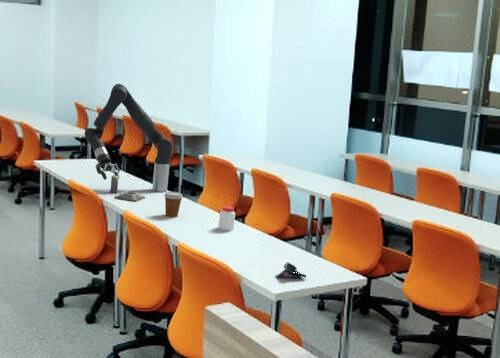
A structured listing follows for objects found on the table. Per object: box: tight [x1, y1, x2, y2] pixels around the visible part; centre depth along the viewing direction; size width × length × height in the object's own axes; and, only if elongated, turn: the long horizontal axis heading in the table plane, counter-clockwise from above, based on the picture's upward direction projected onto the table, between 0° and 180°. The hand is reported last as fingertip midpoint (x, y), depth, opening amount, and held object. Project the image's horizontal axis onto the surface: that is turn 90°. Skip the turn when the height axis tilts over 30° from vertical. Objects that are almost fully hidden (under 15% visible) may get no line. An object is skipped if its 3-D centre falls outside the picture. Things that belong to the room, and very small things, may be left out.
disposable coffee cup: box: [164, 191, 184, 218], centre depth 340 cm, size 10×10×12 cm
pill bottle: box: [217, 205, 236, 231], centre depth 326 cm, size 8×8×11 cm
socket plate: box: [114, 190, 146, 203], centre depth 372 cm, size 13×13×3 cm
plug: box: [109, 175, 120, 194], centre depth 381 cm, size 4×4×10 cm
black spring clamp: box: [275, 262, 307, 279], centre depth 259 cm, size 12×6×12 cm
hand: (111, 178), depth 382 cm, fingers open, 8 cm apart
